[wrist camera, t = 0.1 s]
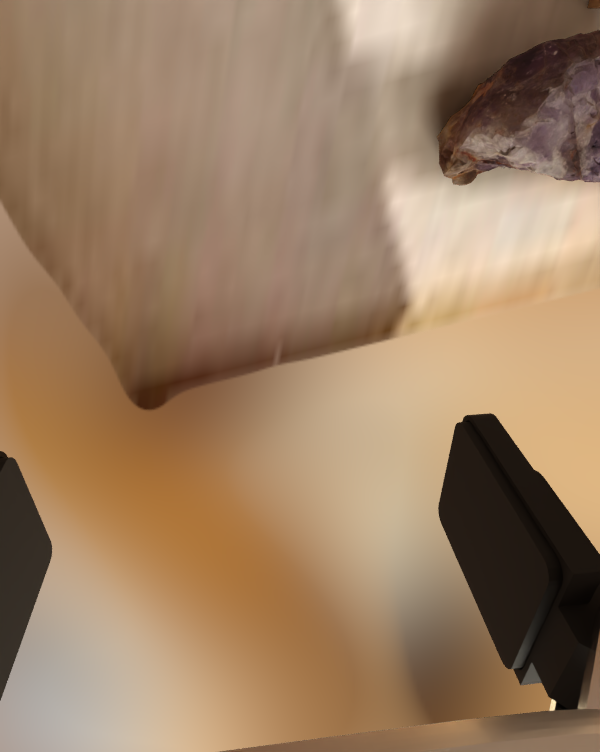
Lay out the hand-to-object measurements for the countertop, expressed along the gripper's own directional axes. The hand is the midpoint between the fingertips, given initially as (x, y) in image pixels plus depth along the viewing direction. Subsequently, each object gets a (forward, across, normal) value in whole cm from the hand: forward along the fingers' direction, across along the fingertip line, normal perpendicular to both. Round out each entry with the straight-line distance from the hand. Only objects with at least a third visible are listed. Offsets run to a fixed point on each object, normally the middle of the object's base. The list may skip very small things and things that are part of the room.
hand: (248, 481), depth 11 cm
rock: (+31, -20, -4) cm, 38 cm away
